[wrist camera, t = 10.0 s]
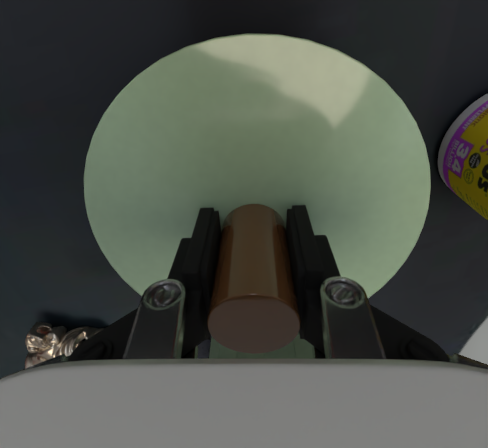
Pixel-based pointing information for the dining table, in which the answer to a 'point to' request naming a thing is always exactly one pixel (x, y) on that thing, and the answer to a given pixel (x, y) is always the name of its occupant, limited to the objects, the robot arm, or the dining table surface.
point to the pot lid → (257, 174)
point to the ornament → (54, 341)
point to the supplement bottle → (467, 156)
